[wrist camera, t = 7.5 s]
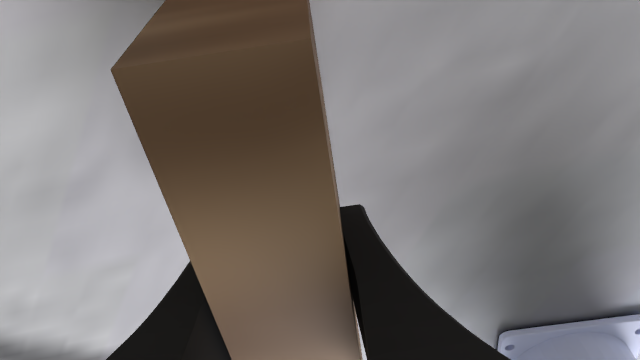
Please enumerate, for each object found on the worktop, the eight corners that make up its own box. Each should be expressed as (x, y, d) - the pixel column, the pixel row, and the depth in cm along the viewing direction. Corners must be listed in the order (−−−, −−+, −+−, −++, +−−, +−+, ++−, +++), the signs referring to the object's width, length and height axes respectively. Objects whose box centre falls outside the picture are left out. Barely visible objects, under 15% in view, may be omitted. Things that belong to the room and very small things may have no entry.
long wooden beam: (359, 338, 19) (377, 473, 15) (285, 347, 19) (283, 484, 15) (303, -34, 11) (311, 37, 7) (176, -14, 11) (110, 69, 7)
